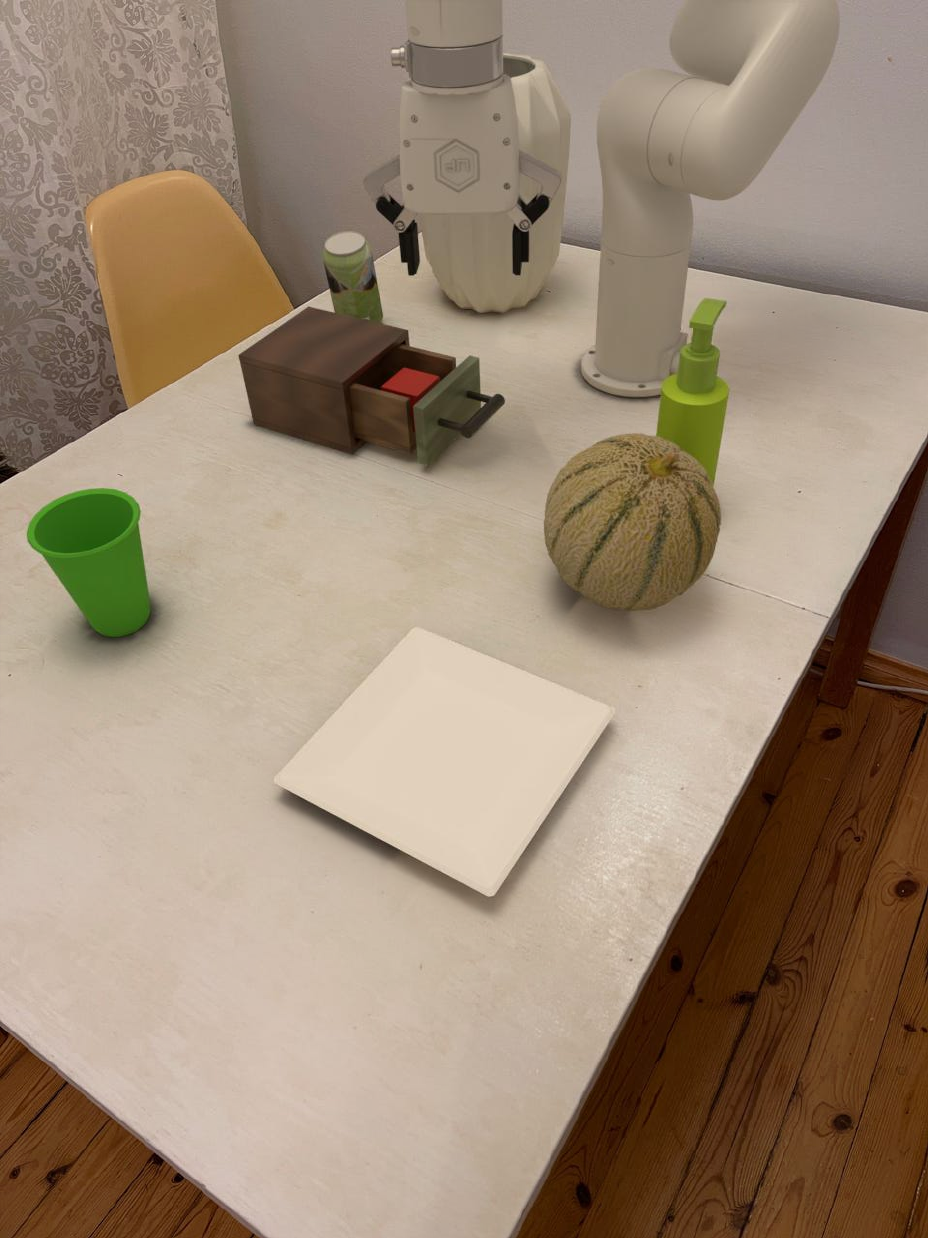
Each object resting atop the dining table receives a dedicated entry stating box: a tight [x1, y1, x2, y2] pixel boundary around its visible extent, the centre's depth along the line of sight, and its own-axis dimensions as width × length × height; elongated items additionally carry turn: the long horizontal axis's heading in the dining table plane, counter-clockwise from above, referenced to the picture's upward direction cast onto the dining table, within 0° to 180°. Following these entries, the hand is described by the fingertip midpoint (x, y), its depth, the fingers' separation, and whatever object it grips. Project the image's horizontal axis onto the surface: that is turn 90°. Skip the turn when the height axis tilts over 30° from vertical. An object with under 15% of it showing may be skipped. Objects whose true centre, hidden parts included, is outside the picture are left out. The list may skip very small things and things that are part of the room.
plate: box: [272, 626, 617, 898], centre depth 72 cm, size 19×19×2 cm
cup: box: [26, 487, 152, 638], centre depth 82 cm, size 9×9×11 cm
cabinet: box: [237, 306, 411, 455], centre depth 107 cm, size 14×13×9 cm
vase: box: [418, 51, 572, 314], centre depth 121 cm, size 20×20×28 cm
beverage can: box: [322, 230, 384, 324], centre depth 121 cm, size 6×7×12 cm
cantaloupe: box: [543, 432, 722, 612], centre depth 81 cm, size 15×15×15 cm
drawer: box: [347, 344, 506, 467], centre depth 103 cm, size 17×11×7 cm
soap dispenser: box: [655, 297, 730, 488], centre depth 88 cm, size 6×7×20 cm
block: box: [381, 368, 440, 432], centre depth 103 cm, size 4×4×4 cm
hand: (465, 269), depth 89 cm, fingers open, 9 cm apart
